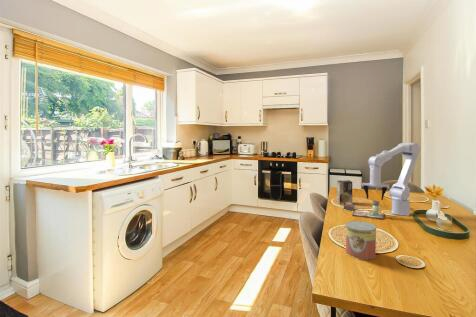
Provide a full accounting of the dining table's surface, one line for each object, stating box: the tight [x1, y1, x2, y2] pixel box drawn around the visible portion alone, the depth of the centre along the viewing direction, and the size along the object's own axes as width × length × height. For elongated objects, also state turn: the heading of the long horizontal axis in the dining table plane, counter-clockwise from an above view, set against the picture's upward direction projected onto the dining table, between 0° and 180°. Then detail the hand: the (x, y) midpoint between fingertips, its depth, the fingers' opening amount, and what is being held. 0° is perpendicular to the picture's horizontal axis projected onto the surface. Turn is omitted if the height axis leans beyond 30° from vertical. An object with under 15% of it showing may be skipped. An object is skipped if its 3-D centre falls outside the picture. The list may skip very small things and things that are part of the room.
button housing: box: [343, 204, 355, 211], centre depth 174 cm, size 6×6×2 cm
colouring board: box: [352, 209, 385, 221], centre depth 160 cm, size 16×12×1 cm
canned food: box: [345, 220, 377, 261], centre depth 109 cm, size 11×11×12 cm
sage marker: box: [372, 200, 380, 216], centre depth 157 cm, size 3×3×8 cm
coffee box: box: [336, 179, 353, 204], centre depth 189 cm, size 9×6×16 cm
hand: (374, 199), depth 157 cm, fingers open, 7 cm apart
